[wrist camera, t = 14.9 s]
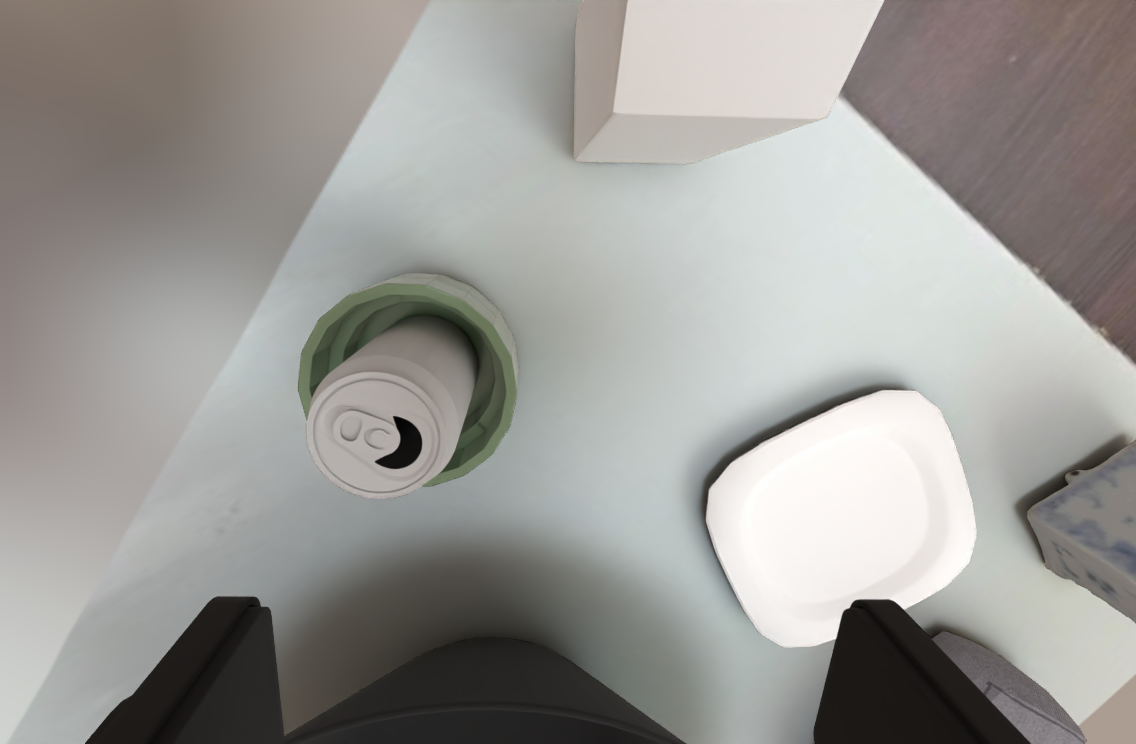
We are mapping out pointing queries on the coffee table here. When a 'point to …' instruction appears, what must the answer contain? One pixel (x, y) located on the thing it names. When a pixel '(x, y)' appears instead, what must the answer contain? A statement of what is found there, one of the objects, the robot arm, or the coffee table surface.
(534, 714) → the bowl
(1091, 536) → the incense holder
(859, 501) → the plate
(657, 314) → the coffee table surface
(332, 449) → the beverage can
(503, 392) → the green round dish
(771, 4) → the milk carton
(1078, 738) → the grey rounded bag
